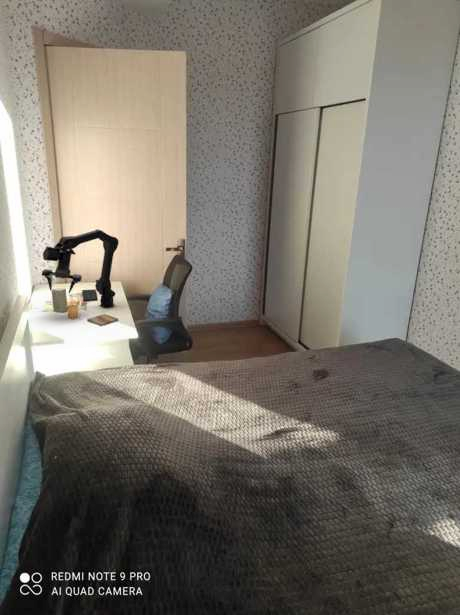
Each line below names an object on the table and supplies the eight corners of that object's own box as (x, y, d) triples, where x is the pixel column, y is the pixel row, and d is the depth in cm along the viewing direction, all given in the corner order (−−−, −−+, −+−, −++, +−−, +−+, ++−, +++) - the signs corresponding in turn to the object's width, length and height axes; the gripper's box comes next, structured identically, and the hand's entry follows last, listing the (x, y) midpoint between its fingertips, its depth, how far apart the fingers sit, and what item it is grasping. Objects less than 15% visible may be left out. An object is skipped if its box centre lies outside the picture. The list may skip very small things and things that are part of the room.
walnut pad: (104, 315, 242) (104, 313, 242) (118, 320, 236) (118, 318, 236) (87, 321, 234) (87, 319, 234) (101, 326, 228) (101, 324, 228)
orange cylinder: (74, 315, 241) (73, 304, 239) (80, 317, 239) (79, 306, 237) (66, 317, 237) (65, 306, 236) (72, 319, 235) (71, 308, 233)
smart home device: (82, 299, 263) (81, 289, 281) (83, 302, 264) (82, 292, 281) (97, 298, 266) (95, 289, 284) (98, 301, 266) (96, 291, 284)
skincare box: (68, 310, 248) (66, 288, 245) (63, 312, 244) (61, 290, 241) (57, 308, 250) (56, 287, 246) (52, 310, 246) (51, 289, 242)
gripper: (41, 260, 223) (37, 291, 225) (81, 267, 227) (76, 297, 229) (46, 258, 233) (42, 287, 236) (83, 264, 238) (79, 293, 240)
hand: (59, 291), depth 235 cm, fingers open, 9 cm apart
